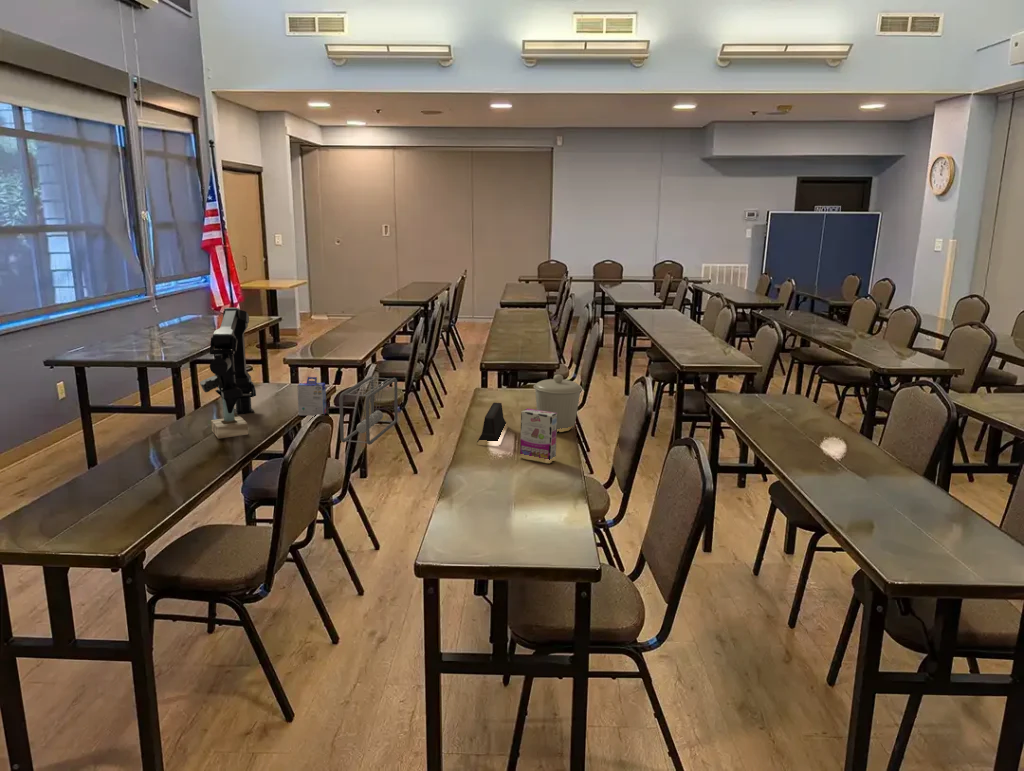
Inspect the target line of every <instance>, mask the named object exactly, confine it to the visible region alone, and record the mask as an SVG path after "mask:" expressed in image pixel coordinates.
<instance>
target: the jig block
mask: <svg viewBox="0 0 1024 771" xmlns="http://www.w3.org/2000/svg"><path fill="white" fill-rule="evenodd" d="M234 418H235V420H233V421H224V418H218V419H211V420H210V424H211V432H212V433H213V434H214V435H215V436H216V438H217V439H218V440H219V439H226V438H232V437H240V436H246V435H249V424H248V422H247V421H246V420H244V418H243V417H241V416H234Z"/></svg>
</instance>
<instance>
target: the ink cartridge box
mask: <svg viewBox="0 0 1024 771" xmlns="http://www.w3.org/2000/svg"><path fill="white" fill-rule="evenodd" d="M317 380H318V378H317V376H316V377H315V376H307V380H306V382H300V383H298V385H297V406H298V407H297V408H298V416H311V417H314V416H315V415H317V414H324V415H326V414H327V413H328V412H327V391H326V390H327V388H326V383H325V382H318V381H317ZM315 417H316V416H315Z"/></svg>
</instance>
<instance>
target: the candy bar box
mask: <svg viewBox="0 0 1024 771" xmlns="http://www.w3.org/2000/svg"><path fill="white" fill-rule="evenodd" d="M557 435H558V433H557V413H553V412H547V411H541V410H537V409H533V408H526V409H524V410H521V411H520V442H519V443H520V445H519V446H520V447H519V455H520V454H524V455H529V456H534V457H539V458H544V459H549V460H550V459H552V458H553V457H555V456H556V457H557Z"/></svg>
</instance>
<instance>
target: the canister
mask: <svg viewBox="0 0 1024 771" xmlns="http://www.w3.org/2000/svg"><path fill="white" fill-rule="evenodd" d="M533 389H534V390H535V405H536V410H541V411H547V412H553V413H557V429H560V428H561V429H562V428H568V427H571V426H573V428H574V427H575V424H576V419H577V415H578V409H579V403H580V402H579V401H580V397H581V396H580V395H581V391H583V387H582V385H580V384H579V383H577V382H575V381H572V380H569V379H564V376H563V375H562V374H555V375H553V378H550V379H543V380H540V381H538V382H536V383H535V384H534V385H533Z"/></svg>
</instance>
